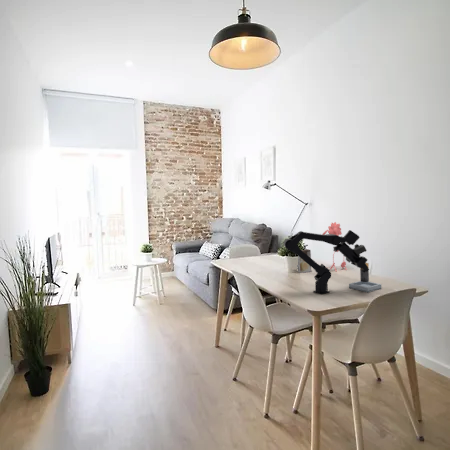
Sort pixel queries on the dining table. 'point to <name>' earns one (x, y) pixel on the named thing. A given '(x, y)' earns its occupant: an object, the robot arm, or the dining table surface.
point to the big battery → (364, 274)
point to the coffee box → (304, 263)
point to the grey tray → (365, 286)
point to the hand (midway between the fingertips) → (366, 269)
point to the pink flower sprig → (336, 230)
